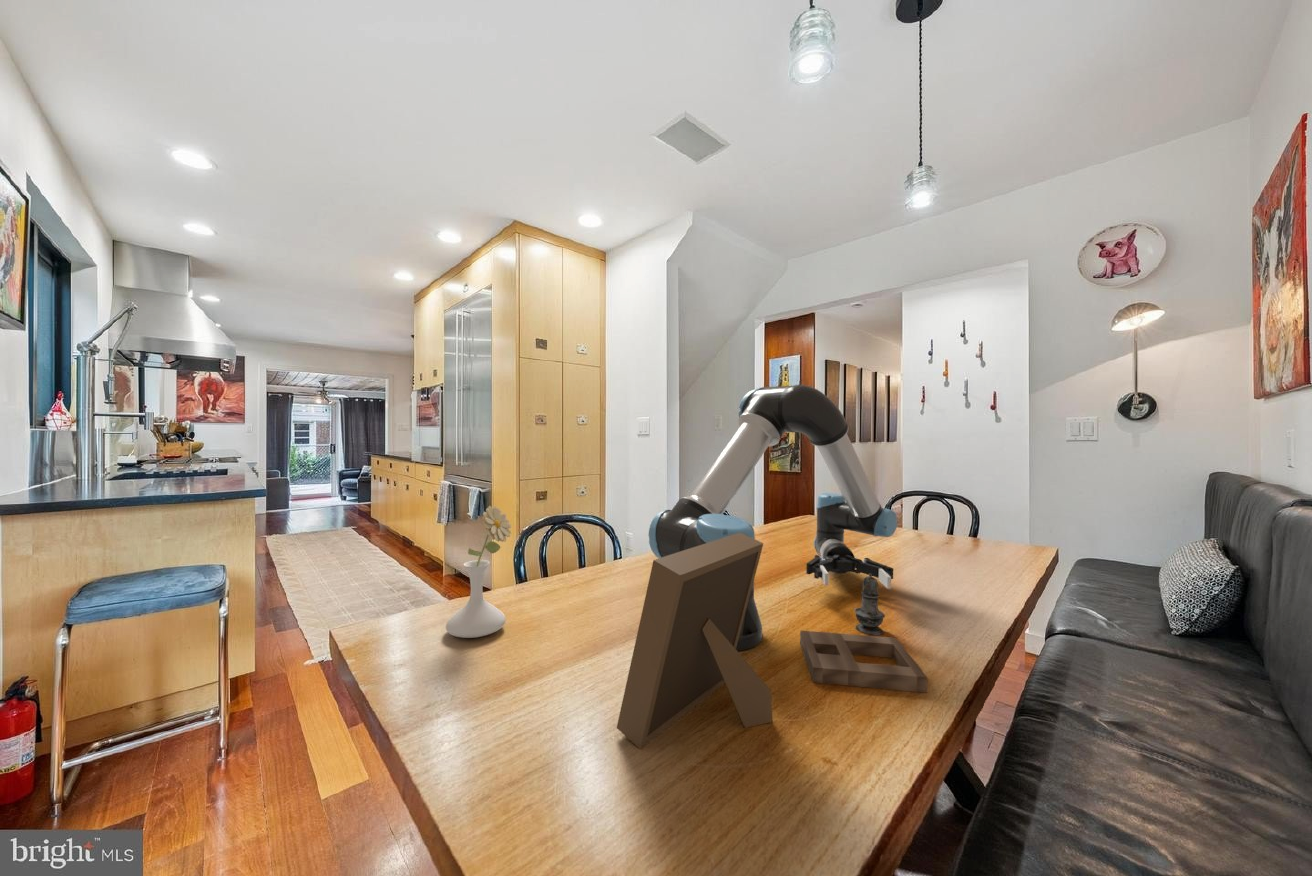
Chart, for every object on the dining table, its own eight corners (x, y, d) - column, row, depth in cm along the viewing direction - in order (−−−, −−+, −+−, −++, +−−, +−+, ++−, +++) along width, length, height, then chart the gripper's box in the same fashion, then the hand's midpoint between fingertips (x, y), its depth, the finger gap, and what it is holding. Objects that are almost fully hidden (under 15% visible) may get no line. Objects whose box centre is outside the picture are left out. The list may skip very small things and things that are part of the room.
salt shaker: (889, 636, 97) (891, 577, 97) (860, 635, 97) (862, 576, 97) (877, 624, 103) (878, 568, 103) (849, 623, 103) (850, 568, 103)
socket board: (812, 682, 79) (813, 667, 79) (800, 643, 93) (800, 630, 93) (926, 692, 76) (927, 677, 76) (895, 650, 90) (896, 637, 90)
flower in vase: (466, 649, 89) (466, 515, 88) (434, 633, 95) (434, 508, 95) (524, 626, 99) (525, 506, 98) (491, 613, 106) (492, 500, 105)
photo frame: (616, 735, 65) (621, 551, 64) (705, 672, 81) (710, 526, 81) (708, 791, 55) (715, 576, 54) (788, 707, 72) (794, 542, 71)
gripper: (885, 572, 129) (915, 601, 108) (789, 567, 132) (801, 593, 111) (885, 544, 128) (916, 568, 107) (790, 540, 132) (801, 561, 111)
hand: (857, 581), depth 109 cm, fingers open, 13 cm apart
